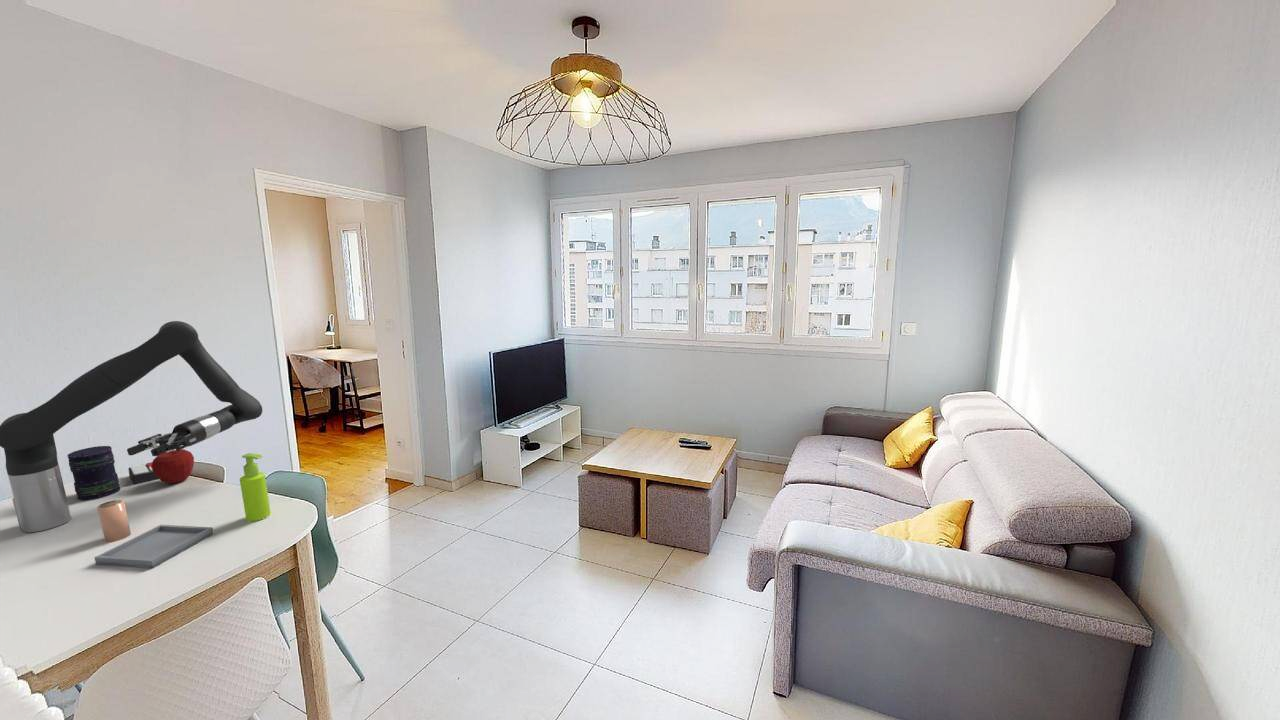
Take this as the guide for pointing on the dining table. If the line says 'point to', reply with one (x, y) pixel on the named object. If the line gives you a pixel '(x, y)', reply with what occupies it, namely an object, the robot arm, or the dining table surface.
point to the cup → (114, 520)
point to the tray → (154, 546)
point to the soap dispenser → (254, 490)
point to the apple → (173, 466)
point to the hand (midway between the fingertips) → (140, 452)
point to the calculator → (141, 473)
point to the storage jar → (94, 472)
